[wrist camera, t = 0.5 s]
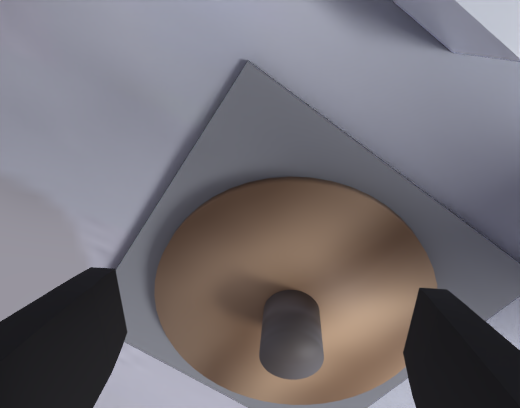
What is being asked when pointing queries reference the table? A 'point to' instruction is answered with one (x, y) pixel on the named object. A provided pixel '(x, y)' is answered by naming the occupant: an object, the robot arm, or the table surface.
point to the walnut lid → (292, 290)
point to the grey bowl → (471, 25)
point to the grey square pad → (300, 165)
